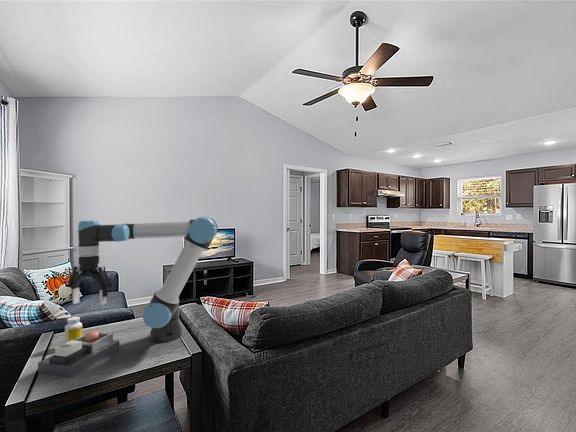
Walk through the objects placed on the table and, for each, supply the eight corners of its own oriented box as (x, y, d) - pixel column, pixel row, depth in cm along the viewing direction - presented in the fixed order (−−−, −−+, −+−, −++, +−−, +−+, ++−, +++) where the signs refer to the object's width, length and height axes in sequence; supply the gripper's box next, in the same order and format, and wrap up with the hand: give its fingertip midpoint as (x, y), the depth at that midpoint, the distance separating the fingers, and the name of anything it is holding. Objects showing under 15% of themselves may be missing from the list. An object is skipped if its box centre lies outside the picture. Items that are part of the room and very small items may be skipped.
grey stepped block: (119, 349, 131) (119, 332, 131) (73, 377, 109) (73, 357, 109) (89, 346, 134) (89, 330, 134) (38, 372, 112) (38, 353, 112)
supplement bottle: (85, 343, 137) (85, 316, 137) (71, 350, 131) (71, 321, 131) (75, 342, 140) (75, 315, 140) (61, 347, 133) (61, 319, 133)
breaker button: (101, 337, 129) (101, 331, 129) (92, 342, 124) (92, 335, 124) (92, 337, 129) (92, 330, 129) (82, 341, 125) (82, 334, 125)
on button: (81, 348, 119) (81, 340, 119) (65, 356, 112) (65, 348, 112) (71, 347, 120) (71, 340, 120) (55, 355, 113) (55, 347, 113)
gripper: (120, 254, 130) (121, 302, 130) (72, 254, 134) (72, 300, 134) (107, 256, 122) (108, 307, 122) (56, 256, 126) (57, 305, 126)
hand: (89, 303), depth 128 cm, fingers open, 13 cm apart
